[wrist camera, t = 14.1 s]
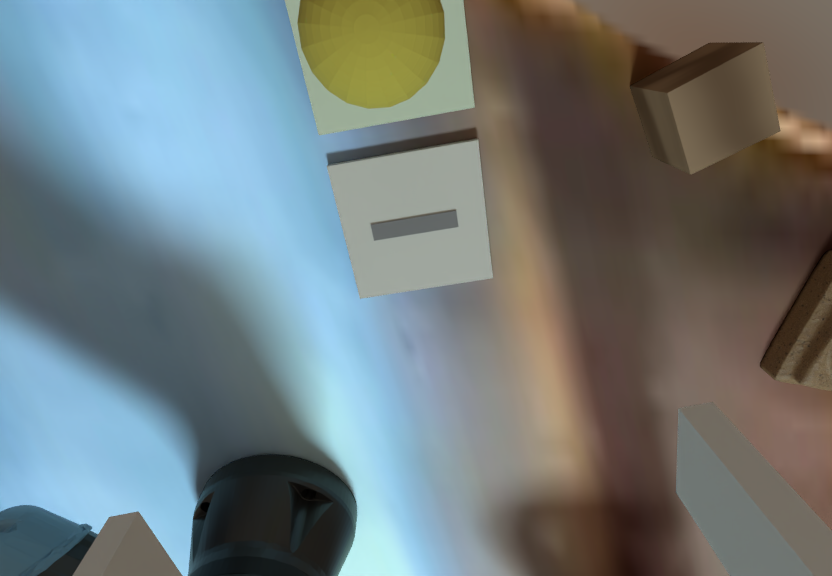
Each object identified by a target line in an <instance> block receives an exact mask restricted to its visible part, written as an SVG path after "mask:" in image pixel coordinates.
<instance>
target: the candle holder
mask: <svg viewBox="0 0 832 576" xmlns="http://www.w3.org/2000/svg"><path fill="white" fill-rule="evenodd" d="M760 367H761V368H762V369H763V370H764V371H765V372H766V373H768V374H769V375H770V376H771V377H772V378H773V379H774V380H777V381H781V382H786V383H792V384H799V385H805V386H809V387H813V388H817V389H823V390H829V391H832V250H830V251H827V252H826V253H825V254H824V255H823V256H822V258H821V260H820V261H819V263H818V264H817V266H816V267H815V269H814V270H813V272H812V274H811V275H810V277H809V279H808V281H807V282H806V284H805V286H804V288H803V289H802V291H801V293H800V294H799V296H798V298H797V300H796V301H795V303H794V305H793V307H792V308H791V310H790V312H789V313H788V315H787V317H786V319H785V320H784V322H783V324H782V326H781V327H780V329H779V331H778V332H777V334H776V336H775V338H774V339H773V341H772V343H771V345H770V346H769V348H768V350H767V352H766V354H765V356H764V358H763V360H762V362H761V365H760Z"/></svg>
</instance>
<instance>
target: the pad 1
mask: <svg viewBox="0 0 832 576" xmlns="http://www.w3.org/2000/svg"><path fill="white" fill-rule="evenodd" d="M440 1H441V4H442V7H443V10H444V20H445V41H444V45H443V49H442V53H441V57H440V61H439V64H438V66H437V67H436V69H435V71H434V72H433V74H432V76H431V77H430V79H429V81H428V83H427V84H426V85H425V86H424V87H422V88H421V89H420V90H419V91H418V92H417V93H416V94H415V95H413V96H412V97H411V98H410V99H408V100H406V101H403V102H401V103H399V104H396V105H394V106H392V107H387V108H373V109H367V108H363V107H360V106H356V105H352V104H348V103H346V102H345V101H343V100H341V99H340V98H338V97H337V96H335V95H334V94H332V93H331V92H329V91H328V90H327V89H326V88H325V87H324V86H323V85H322V83H321V82H320V81H319V80H318V79H317V77H316V76H315V75H314V74H313V73H312V71H311V69H310V67H309V65H308V62H307V60H306V58H305V56H304V54H303V51H302V49H301V43H300V37H299V30H298V24H297V22H298V14H299V6H300V0H285V3H286V7H287V11H288V15H289V19H290V23H291V27H292V31H293V34H294V38H295V42H296V46H297V50H298V54H299V58H300V62H301V66H302V70H303V74H304V78H305V82H306V86H307V90H308V94H309V98H310V102H311V106H312V110H313V114H314V118H315V122H316V126H317V130H318V134H319V135H324V134H329V133H335V132H341V131H346V130H352V129H357V128H363V127H368V126H374V125H380V124H385V123H391V122H396V121H402V120H407V119H413V118H418V117H424V116H430V115H435V114H441V113H446V112H452V111H457V110H463V109H469V108H474V107H475V106H474V96H473V87H472V77H471V68H470V59H469V49H468V40H467V30H466V21H465V12H464V2H463V0H440Z"/></svg>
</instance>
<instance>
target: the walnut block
mask: <svg viewBox="0 0 832 576" xmlns="http://www.w3.org/2000/svg"><path fill="white" fill-rule="evenodd" d="M630 89H631V92H632V95H633V98H634V101H635V104H636V108H637V111H638V114H639V117H640V120H641V123H642V126H643V129H644V132H645V136H646V139H647V142H648V145H649V148H650V151H651V154H652V157H654V158H656V159H658V160H660V161H662V162H664V163H667V164H669V165H671V166H673V167H675V168H677V169H680V170H682V171H684V172H686V173H688V174H690V175H691V174H693V173H695V172H697V171H699V170H701V169H703V168H706V167H708V166H710V165H712V164H714V163H716V162H718V161H720V160H722V159H724V158H726V157H728V156H730V155H732V154H734V153H736V152H738V151H740V150H743V149H745V148H747V147H749V146H751V145H753V144H755V143H757V142H759V141H761V140H763V139H765V138H767V137H769V136H771V135H773V134H775V133H777V132H779V131H780V126H779V121H778V116H777V110H776V105H775V100H774V95H773V90H772V85H771V79H770V74H769V70H768V64H767V59H766V54H765V49H764V44H763V43H762V42H761V43H760V42H756V43H708V44H706V45H704V46H702V47H700V48H699V49H697V50H695V51H693V52H691V53H689V54H688V55H686V56H684V57H682V58H680V59H678V60H677V61H675V62H673V63H671V64H670V65H668V66H666V67H664V68H662V69H660V70H659V71H657V72H655V73H653V74H651V75H649V76H647V77H646V78H644V79H642V80H640V81H638V82H636V83H635V84H633V85H631V86H630Z"/></svg>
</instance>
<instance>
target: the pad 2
mask: <svg viewBox="0 0 832 576" xmlns="http://www.w3.org/2000/svg"><path fill="white" fill-rule="evenodd" d="M327 169H328V173H329V177H330V181H331V185H332V189H333V193H334V197H335V201H336V205H337V209H338V213H339V217H340V221H341V225H342V229H343V233H344V237H345V241H346V245H347V249H348V252H349V256H350V260H351V264H352V268H353V272H354V276H355V280H356V284H357V288H358V292H359V296H360V299H361V298H368V297H374V296H380V295H387V294H393V293H400V292H406V291H413V290H419V289H425V288H432V287H438V286H445V285H451V284H457V283H464V282H470V281H477V280H483V279H490V278H493V275H492V265H491V256H490V247H489V237H488V228H487V218H486V209H485V200H484V190H483V181H482V171H481V162H480V153H479V143H478V139H477V138H476V139H471V140H465V141H459V142H453V143H448V144H442V145H436V146H431V147H425V148H419V149H414V150H408V151H402V152H396V153H391V154H385V155H379V156H374V157H368V158H362V159H356V160H351V161H345V162H339V163H334V164H328V165H327Z"/></svg>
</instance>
